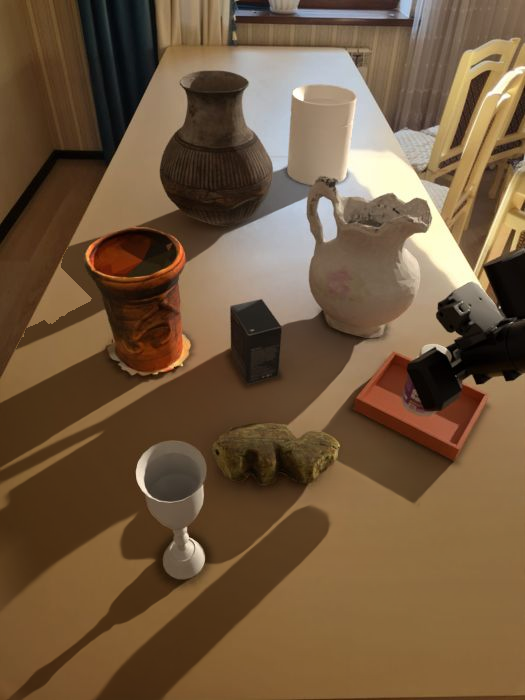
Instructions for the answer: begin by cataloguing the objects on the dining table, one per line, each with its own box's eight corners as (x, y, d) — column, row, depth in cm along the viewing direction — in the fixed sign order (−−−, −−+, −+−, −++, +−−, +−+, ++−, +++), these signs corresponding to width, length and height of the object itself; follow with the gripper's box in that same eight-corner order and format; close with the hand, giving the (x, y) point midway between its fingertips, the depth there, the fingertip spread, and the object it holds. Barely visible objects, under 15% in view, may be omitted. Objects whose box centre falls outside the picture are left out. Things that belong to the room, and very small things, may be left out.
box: (279, 376, 88) (282, 326, 81) (247, 385, 86) (247, 335, 79) (260, 346, 93) (262, 297, 86) (229, 354, 92) (229, 305, 84)
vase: (252, 188, 138) (254, 59, 118) (285, 236, 121) (294, 95, 100) (156, 200, 132) (141, 66, 111) (177, 253, 114) (163, 105, 94)
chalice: (148, 542, 66) (128, 452, 54) (201, 522, 68) (193, 432, 56) (164, 598, 61) (146, 513, 49) (221, 575, 63) (217, 488, 51)
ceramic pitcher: (278, 333, 98) (283, 213, 80) (309, 270, 110) (319, 154, 92) (397, 364, 93) (431, 243, 75) (416, 294, 105) (448, 177, 87)
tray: (484, 405, 85) (490, 394, 83) (454, 461, 76) (459, 449, 75) (390, 362, 91) (393, 350, 90) (353, 409, 83) (355, 397, 81)
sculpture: (209, 464, 68) (214, 413, 76) (209, 492, 71) (214, 441, 79) (348, 467, 68) (338, 416, 77) (343, 495, 71) (334, 443, 80)
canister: (275, 174, 144) (279, 95, 131) (306, 155, 154) (313, 80, 141) (327, 191, 138) (337, 110, 124) (356, 170, 148) (368, 93, 134)
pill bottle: (405, 418, 74) (420, 367, 68) (397, 390, 78) (410, 340, 72) (443, 417, 75) (462, 367, 68) (433, 390, 79) (450, 340, 72)
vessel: (125, 394, 84) (103, 290, 71) (94, 342, 93) (69, 240, 79) (207, 362, 90) (201, 260, 77) (171, 315, 99) (160, 216, 85)
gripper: (542, 253, 63) (443, 286, 77) (440, 310, 54) (349, 336, 68) (578, 339, 64) (473, 357, 78) (483, 410, 55) (384, 416, 69)
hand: (422, 364), depth 73 cm, fingers closed on pill bottle, 5 cm apart
